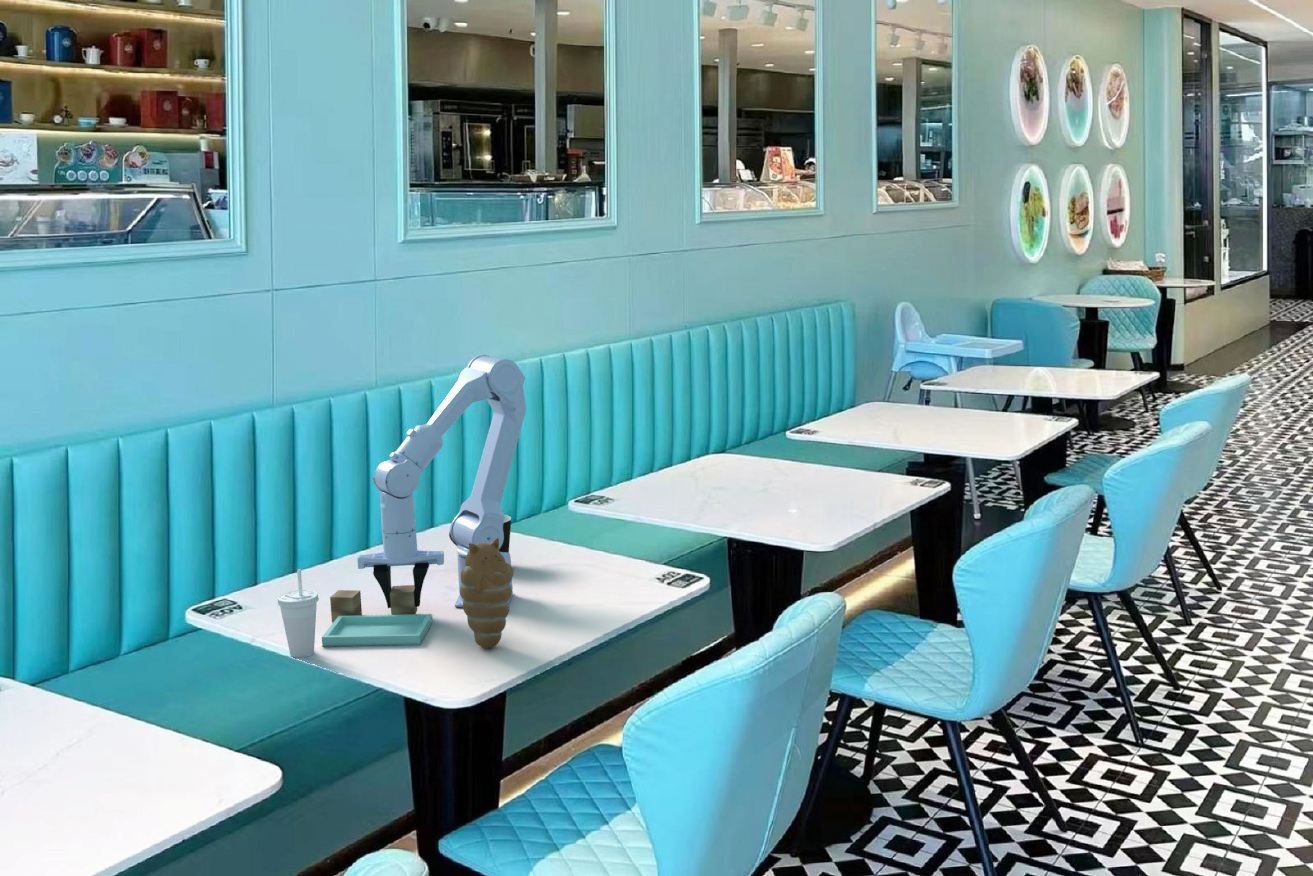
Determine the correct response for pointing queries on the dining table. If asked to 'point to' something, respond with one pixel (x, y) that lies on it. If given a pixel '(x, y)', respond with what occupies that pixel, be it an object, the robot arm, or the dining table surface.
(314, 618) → the smoothie
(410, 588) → the block
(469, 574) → the cat ice cream
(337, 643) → the tray
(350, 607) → the block
